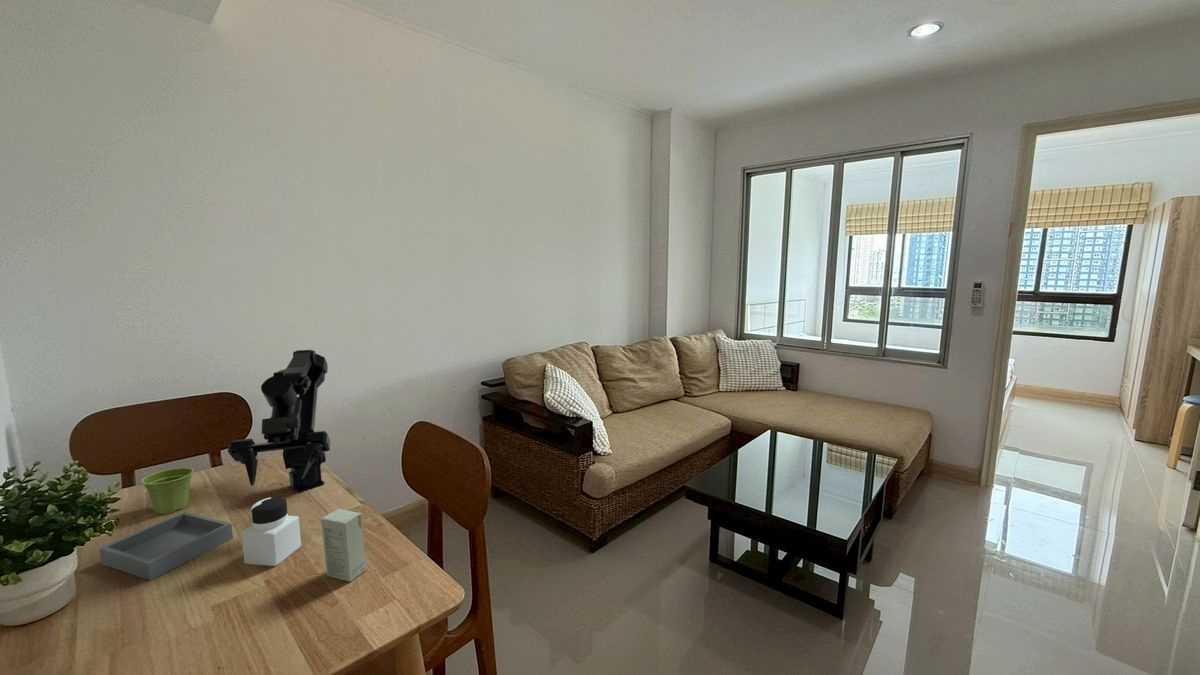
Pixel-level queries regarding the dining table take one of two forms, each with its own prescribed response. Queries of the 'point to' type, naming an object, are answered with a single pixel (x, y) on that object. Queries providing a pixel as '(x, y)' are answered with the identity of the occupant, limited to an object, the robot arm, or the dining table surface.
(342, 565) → the skincare box
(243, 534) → the medicine bottle
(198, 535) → the tray
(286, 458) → the robot arm
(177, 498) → the plant pot
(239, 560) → the dining table surface
